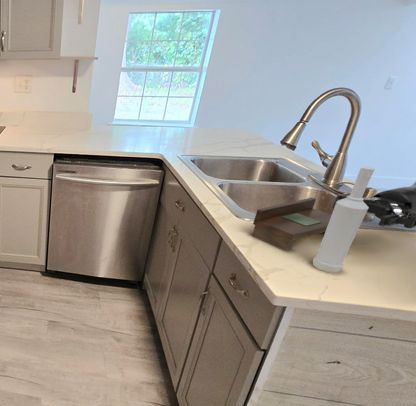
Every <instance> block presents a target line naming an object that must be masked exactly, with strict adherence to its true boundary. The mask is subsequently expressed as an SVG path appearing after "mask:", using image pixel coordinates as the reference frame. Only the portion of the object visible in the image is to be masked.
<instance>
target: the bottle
mask: <svg viewBox="0 0 416 406" xmlns="http://www.w3.org/2000/svg"><path fill="white" fill-rule="evenodd" d="M374 171H375V168H374V167H369V166H361V167H360V168H359V171H358V174H357V177H356V180H355V182H354V184H353V187H352V189H351V191H350V192H349V193H350V195H349V196H347V197H346V198H344V199H341V200H338V201H337V202H336V205H335V207H334V210H333V209H332V210H333V211H332V213H331V215H332V216H331V218H330V221H329V224H328V226H327V229H326V232H325V233H323V234H324V235H323V237H322V240H321V243H320V245H319V248H318V250H317V254H316V255H315V256H314V257H313V260H312V265H313V267H315V268H316V269H318V270H320V271H322V272H326V273H330V274H331V273H332V274H337V273H339V272H340V271H342V268H343V267H344V264H343V262H344V260H345V259H346V256H347V254H348V252H349V250H350V248H351V246H352V243H353V241H354V240H355V237H356V235H357V233H358V231H359V229H360V227H361V225H362V224H363V223H362V222H363V221H364V218H365V217H366V215H367V213H366V212H367V210H368V208H369V207H368V206H367V205H366V204H365V203H364V202H363V200H364V199H363V198H364V197H363V196H364V194H365V191H366V189H367V187H368V185H369V182H370V180H371V178H372V176H373V174H374ZM362 197H363V198H362Z"/></svg>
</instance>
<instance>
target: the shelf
mask: <svg viewBox="0 0 416 406" xmlns="http://www.w3.org/2000/svg"><path fill="white" fill-rule="evenodd" d="M316 202H317V198H315V197H308V198H307V197H306V198H304V199H299V200H294V201H289V202H285V203H280V204H276V205H272V206H266V207H262V208H257V210H256V213H255V216H254V218H253V223H252V225H253V226H254V227H253V230H252V233H251V237H254V238H256V239H259V240H261V241H263V242H265V243H267V244H270V245H271V246H274V247H277V248H279V249H281V250H283V251H291V250H292V248H293V245H294V242H295V240H298V239H299V240H300V239H302V238H306V237H310V236H313V235H318V234H325V232H326V229H327V226H328V224H329V221H330V218H331V216H332V213H329V212H324V211H322V210H319V209H315V208H314V206H315V204H316Z"/></svg>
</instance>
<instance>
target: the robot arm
mask: <svg viewBox="0 0 416 406" xmlns="http://www.w3.org/2000/svg"><path fill="white" fill-rule="evenodd" d="M350 193H351V192H349V193H343V194H337V195H336V198H335V200H334V202H333V205H332V210H334V207H335V205H336V202H337V201H338V200H341V199H344V198H346V197H347V196H349V195H350ZM362 198H363V199H364V200H363V202H364V203H365V204H366V205H367V206H368V207H369V208H368V210H367V212H366V214H368V215H373V216H375V217H376V218H377V219H379V222H378V226H381V227H387V226H388V227H390V226H400V225H403V228H406V229H413V228H416V180H415V181H414V182H413V183H412V184H411V185H410V186H402V187H396V188H392V189H388V190H383V191H380V192H377V193H376V194H374V195H372V197H363V196H362Z"/></svg>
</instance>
